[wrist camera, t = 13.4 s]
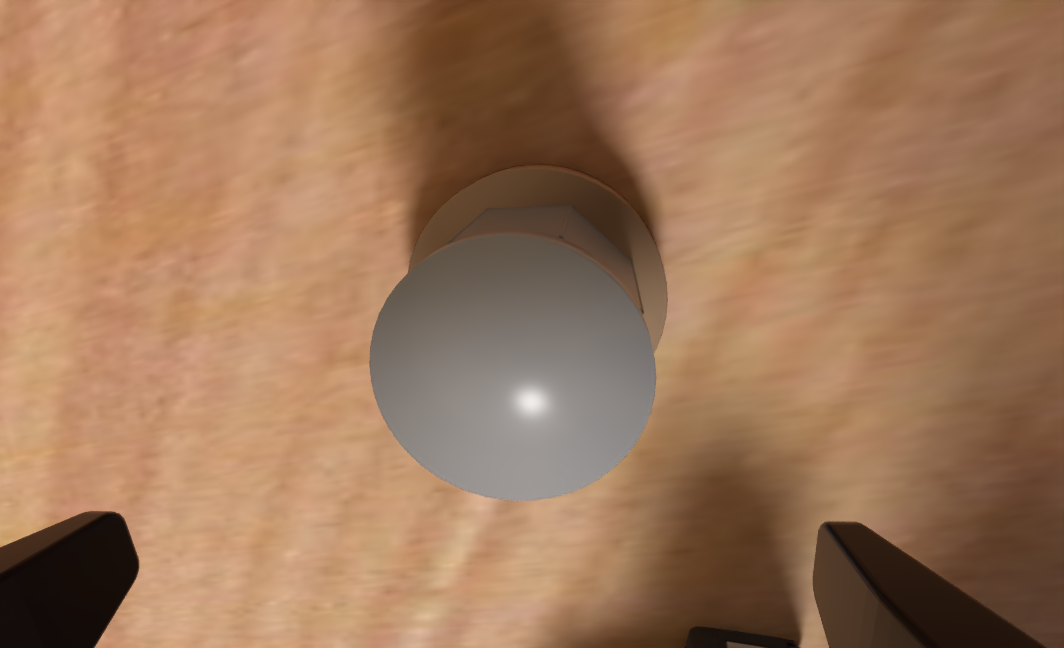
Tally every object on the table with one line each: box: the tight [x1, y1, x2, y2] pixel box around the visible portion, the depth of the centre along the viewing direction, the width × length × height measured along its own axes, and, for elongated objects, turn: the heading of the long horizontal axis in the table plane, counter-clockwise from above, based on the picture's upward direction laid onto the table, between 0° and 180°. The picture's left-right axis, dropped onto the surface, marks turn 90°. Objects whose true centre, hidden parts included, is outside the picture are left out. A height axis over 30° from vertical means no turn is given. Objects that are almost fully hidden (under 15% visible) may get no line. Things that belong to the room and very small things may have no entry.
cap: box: [370, 204, 656, 501], centre depth 15 cm, size 6×6×5 cm
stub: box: [408, 165, 668, 353], centre depth 16 cm, size 8×8×5 cm
